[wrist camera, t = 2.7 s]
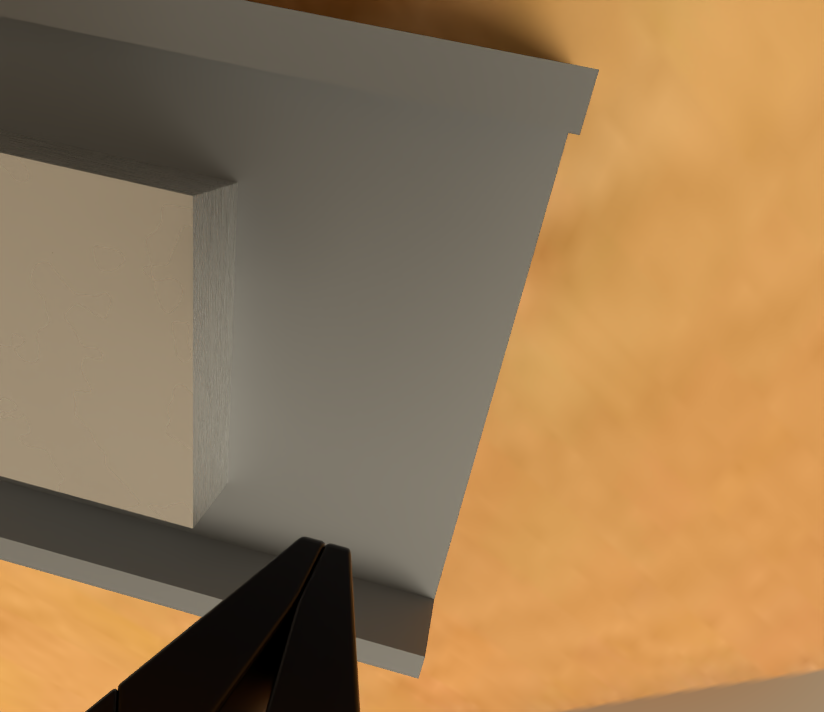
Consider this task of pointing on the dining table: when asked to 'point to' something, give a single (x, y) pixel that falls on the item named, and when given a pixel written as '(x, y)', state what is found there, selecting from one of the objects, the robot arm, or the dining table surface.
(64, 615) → the dining table surface
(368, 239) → the slide box
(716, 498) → the dining table surface
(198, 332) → the cover plate
